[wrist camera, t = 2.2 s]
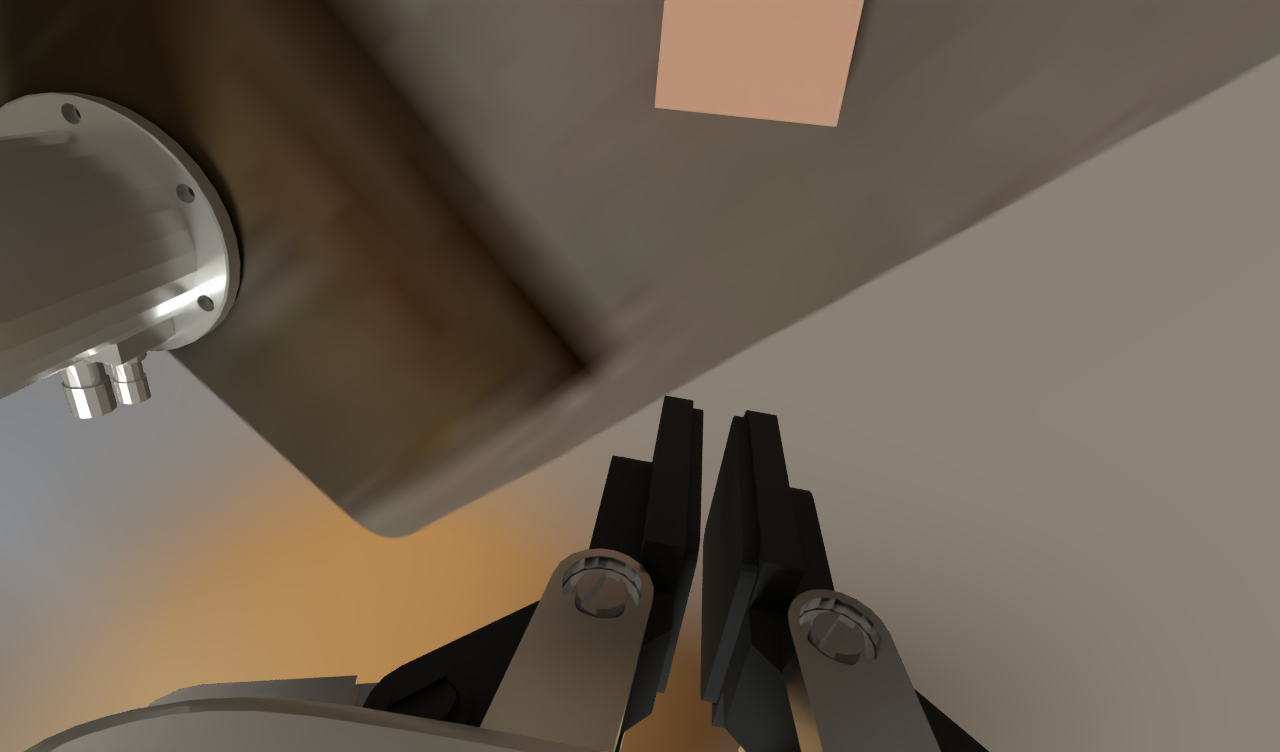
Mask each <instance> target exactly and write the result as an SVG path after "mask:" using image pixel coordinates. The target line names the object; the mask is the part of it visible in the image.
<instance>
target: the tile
mask: <svg viewBox="0 0 1280 752" xmlns="http://www.w3.org/2000/svg"><path fill="white" fill-rule="evenodd" d="M863 2H864V0H665V1H664V12H663V23H662V34H661V45H660V55H659V66H658V77H657V88H656V99H655V108H664V109H673V110H683V111H692V112H702V113H711V114H721V115H730V116H740V117H749V118H759V119H768V120H778V121H787V122H797V123H806V124H816V125H825V126H835V127H836V126H837V122H838V117H839V113H840V108H841V103H842V99H843V94H844V90H845V85H846V80H847V76H848V71H849V67H850V62H851V58H852V53H853V48H854V44H855V39H856V35H857V30H858V25H859V21H860V16H861V12H862V7H863Z"/></svg>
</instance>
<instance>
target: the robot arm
mask: <svg viewBox="0 0 1280 752" xmlns="http://www.w3.org/2000/svg"><path fill="white" fill-rule="evenodd" d="M239 281H240V257H239V251H238V244H237V239H236V236H235V233H234V230H233V227H232V224H231V221H230V218H229V215H228V213H227V211H226V209H225V207H224V205H223V203H222V201H221V199H220V197H219V195H218V193H217V191H216V190H215V188H214V187H213V185H212V184H211V182H210V181H209V180H208V178H207V177H206V175H205V174H204V173H203V171H202V170H201V168H200V167H199V166H198V165H197V163H196V162H195V161H194V160H193V159H192V158H191V157H190V156H189V155H188V154H187V153H186V152H185V150H184V149H183V148H182V147H181V146H180V145H179V144H178V143H177V142H176V141H174V140H173V139H172V138H171V137H169V136H168V135H167V134H166V133H165V132H163V131H162V130H161V129H160V128H159V127H157V126H156V125H155V124H153V123H152V122H150V121H148V120H147V119H145V118H143V117H142V116H140V115H138V114H137V113H135V112H134V111H132V110H130V109H128V108H126V107H123V106H121V105H119V104H116V103H114V102H111V101H109V100H107V99H104V98H100V97H96V96H91V95H87V94H82V93H69V92H52V93H42V94H33V95H25V96H23V97H20V98H18V99H15V100H13V101H10V102H8V103H6V104H4V105H3V106H2V107H1V108H0V399H2V398H5V397H7V396H9V395H11V394H13V393H15V392H17V391H19V390H21V389H23V388H25V387H27V386H29V385H32V384H34V383H36V382H38V381H40V380H42V379H44V378H46V377H48V376H50V375H52V374H54V373H57V372H59V371H60V372H61V375H62V378H63V382H62V387H63V390H64V393H65V396H66V399H67V402H68V405H69V408H70V412H71V413H72V415H73V416H75V417H79V418H94V417H98V416H103V415H105V414H108V413H110V412H112V411H113V410H114V409H115V408H116V407H117V402H116V398H115V395H114V391H113V388H112V384H111V381H110V377H109V375H107V374H106V372H105V368H104V365H103V363H105V364H107V365H111V367H112V371H113V375H114V377H113V381H114V384H115V388H116V391H117V395H118V399H119V402H121V403H123V404H136V403H141V402H144V401H146V400H148V399H149V398H150V397H151V393H150V389H149V385H148V381H147V377H146V373H144V372H143V368H142V363H141V361H142V360H143V359H145V357H146V355H147V354H146V352H147V351H162V350H169V349H175V348H179V347H182V346H184V345H187V344H189V343H192V342H194V341H196V340H198V339H199V338H201V337H203V336H204V335H206V334H208V333H210V332H211V331H213V330H214V329H215V328H216V327H217V326H218V325H219V324H220V323H221V322H222V321H223V320H224V319H225V318H226V316H227V314H228V313H229V311H230V309H231V307H232V306H233V304H234V302H235V298H236V294H237V291H238V287H239ZM702 445H703V410H700V409H694V408H693V400H687V399H681V398H676V397H670V396H665V397H664V402H663V408H662V413H661V418H660V424H659V429H658V435H657V440H656V445H655V450H654V456H653V461H652V462H646V461H640V460H635V459H630V458H624V457H618V456H613V457H612V460H611V464H610V468H609V472H608V476H607V480H606V484H605V488H604V492H603V496H602V500H601V504H600V508H599V512H598V516H597V520H596V524H595V528H594V532H593V536H592V540H591V544H590V548H589V549H587V550H583V551H580V552H577V553H574V554H572V555H570V556H569V557H567V558H566V559H564V560H563V561H561V562H560V564H559V565H558V567H557V568H556V570H555V571H554V572H553V574H552V576H551V578H550V580H549V583H548V585H547V587H546V589H545V591H544V593H543V595H542V597H541V599H540V600H539V601H537V602H535V603H533V604H531V605H528V606H526V607H524V608H522V609H520V610H518V611H516V612H514V613H512V614H510V615H507V616H505V617H503V618H501V619H499V620H497V621H495V622H493V623H491V624H488V625H487V626H484V627H482V628H480V629H478V630H476V631H474V632H472V633H470V634H467V635H465V636H463V637H461V638H459V639H457V640H455V641H453V642H451V643H449V644H447V645H444V646H442V647H440V648H438V649H436V650H434V651H432V652H430V653H428V654H426V655H423V656H421V657H419V658H417V659H415V660H413V661H411V662H409V663H407V664H404V665H402V666H401V667H399V668H397V669H396V670H394V671H393V672H391V673H389V674H388V675H386V676H385V677H384V678H383V679H382V680H381V681H380V682H379V683H367V684H358V678H357V676H340V677H323V678H304V679H287V680H270V681H252V682H235V683H217V684H202V685H197V686H192V687H187V688H183V689H179V690H177V691H174V692H172V693H170V694H168V695H166V696H164V697H162V698H160V699H157V700H155V701H154V702H153V703H152V704H150V705H149V706H148V707H145V708H138V709H134V710H129V711H126V712H122V713H118V714H114V715H110V716H106V717H102V718H99V719H96V720H93V721H90V722H87V723H84V724H81V725H77V726H75V727H72V728H70V729H68V730H65V731H63V732H61V733H58V734H56V735H54V736H52V737H49V738H47V739H44V740H43V741H41V742H39V743H37V744H36V745H34V746H32V747H30V748H29V749H27V750H25V751H24V752H620V750H621V746H622V742H623V737H624V733H625V731H626V730H628V729H629V728H631V727H632V726H634V725H635V724H637V723H638V722H639V721H641V720H642V719H644V718H645V717H647V716H648V715H650V714H651V713H652V709H653V705H654V701H655V697H656V692H660V693H664V692H665V688H666V684H667V680H668V676H669V672H670V668H671V664H672V660H673V656H674V652H675V648H676V644H677V640H678V636H679V632H680V628H681V624H682V620H683V616H684V612H685V608H686V604H687V600H688V596H689V592H690V588H691V584H692V580H693V576H694V572H695V568H696V563H697V558H698V552H699V544H700V524H701V484H702ZM702 587H703V588H702V638H701V639H702V640H701V689H700V690H701V691H700V693H701V700H702V701H707V702H712V726H718V727H723V728H725V729H726V730H727V731H728V732H729V733H730V734H731V735H732V737H733V738H734V739H735V740H736V741H737V742H738V743H739V744H740V748H739V751H738V752H989V751H988V750H986V749H985V748H984V747H983V746H982V745H980V744H979V743H978V742H977V741H976V740H974V739H973V738H972V737H971V736H970V735H969V734H967V733H966V732H965V731H964V730H963V729H961V728H960V727H959V726H958V725H957V724H955V723H954V722H953V721H952V720H951V719H950V718H948V717H947V716H946V715H945V714H944V713H942V712H941V711H940V710H939V709H937V707H935V706H934V705H933V704H932V703H930V702H929V701H928V700H927V699H926V698H925V697H923V696H922V695H921V694H920V693H919V692H918V691H916V690H915V689H914V688H913V686H912V683H911V681H910V679H909V676H908V674H907V672H906V670H905V667H904V665H903V663H902V660H901V658H900V656H899V654H898V651H897V649H896V646H895V644H894V642H893V640H892V637H891V635H890V633H889V631H888V630H887V628H886V627H885V625H884V623H883V622H882V620H881V619H880V618H878V616H877V615H876V614H875V613H874V612H873V611H872V610H871V609H870V608H868V607H867V606H865V605H864V604H862V603H861V602H859V601H858V600H856V599H854V598H852V597H850V596H847V595H845V594H843V593H840V592H835V591H834V587H833V582H832V578H831V574H830V569H829V565H828V560H827V556H826V552H825V547H824V543H823V538H822V534H821V530H820V525H819V521H818V517H817V512H816V508H815V503H814V499H813V496H812V493H811V492H810V491H807V490H802V489H796V488H791V487H789V481H788V475H787V470H786V465H785V458H784V453H783V447H782V442H781V436H780V430H779V425H778V419H777V416H776V415H771V414H766V413H760V412H754V411H749V410H747V411H746V412H745V415H744V417H739V416H734V417H733V420H732V424H731V428H730V432H729V436H728V440H727V444H726V448H725V452H724V456H723V460H722V464H721V468H720V472H719V476H718V480H717V484H716V488H715V492H714V496H713V500H712V504H711V508H710V512H709V516H708V520H707V524H706V528H705V534H704V542H703V584H702Z"/></svg>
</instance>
